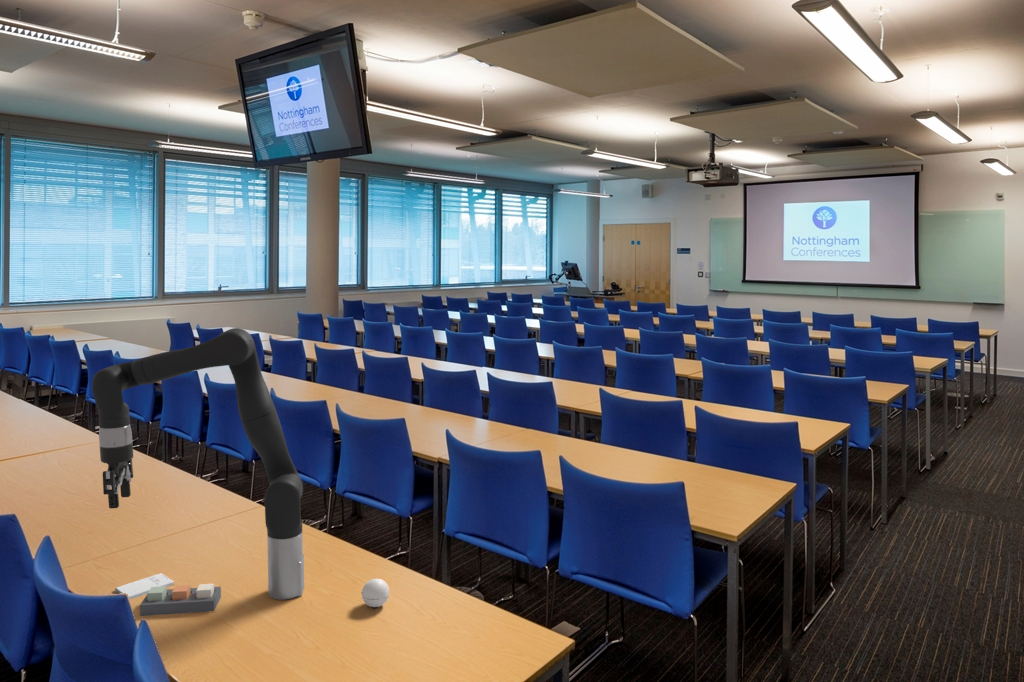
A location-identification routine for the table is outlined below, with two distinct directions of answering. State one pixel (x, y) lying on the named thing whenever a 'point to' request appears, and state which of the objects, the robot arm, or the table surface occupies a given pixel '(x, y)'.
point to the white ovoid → (375, 592)
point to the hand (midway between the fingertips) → (120, 502)
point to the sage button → (157, 593)
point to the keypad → (180, 604)
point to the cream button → (205, 591)
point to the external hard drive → (144, 585)
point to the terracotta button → (181, 592)
